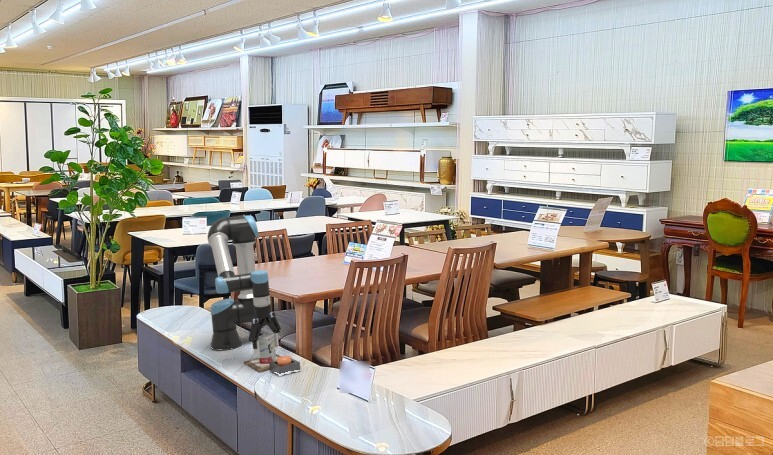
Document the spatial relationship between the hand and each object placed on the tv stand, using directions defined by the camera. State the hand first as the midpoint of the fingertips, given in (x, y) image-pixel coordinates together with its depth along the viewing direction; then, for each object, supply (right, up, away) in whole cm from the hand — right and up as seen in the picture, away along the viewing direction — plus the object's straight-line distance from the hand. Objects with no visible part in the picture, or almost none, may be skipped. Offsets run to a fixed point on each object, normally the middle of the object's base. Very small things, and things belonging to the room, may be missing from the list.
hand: (266, 351), depth 309 cm
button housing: (+10, -7, -12) cm, 17 cm away
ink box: (0, -5, +1) cm, 5 cm away
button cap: (+10, -5, -12) cm, 16 cm away
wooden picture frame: (0, -6, +1) cm, 6 cm away
